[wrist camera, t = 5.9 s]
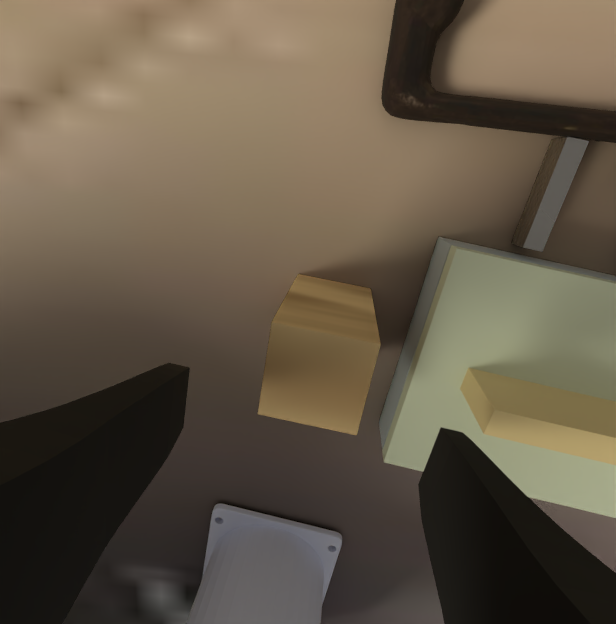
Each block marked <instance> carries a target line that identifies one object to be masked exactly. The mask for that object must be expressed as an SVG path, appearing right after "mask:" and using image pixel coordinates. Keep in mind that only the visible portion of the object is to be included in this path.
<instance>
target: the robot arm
mask: <svg viewBox="0 0 616 624" xmlns="http://www.w3.org/2000/svg"><path fill="white" fill-rule="evenodd" d="M189 370H190V368H188V367H184V366H180V365H176V364H171V363H167V364H164V365H162V366H159V367H157V368H154V369H152V370H150V371H147V372H145V373H143V374H140V375H138V376H136V377H133V378H131V379H129V380H126V381H124V382H121V383H119V384H117V385H114V386H112V387H110V388H107V389H105V390H102V391H99V392H97V393H94V394H91V395H88V396H86V397H83V398H80V399H78V400H75V401H72V402H70V403H67V404H64V405H61V406H58V407H55V408H52V409H49V410H46V411H42V412H39V413H35V414H32V415H28V416H25V417H21V418H18V419H14V420H10V421H6V422H2V423H0V624H62V623H63V621H64V619H65V617H66V616H67V614H68V612H69V610H70V608H71V607H72V605H73V603H74V601H75V599H76V598H77V596H78V594H79V592H80V590H81V589H82V587H83V585H84V583H85V582H86V580H87V578H88V576H89V575H90V573H91V571H92V570H93V568H94V566H95V564H96V563H97V561H98V559H99V557H100V556H101V554H102V552H103V550H104V549H105V547H106V546H107V544H108V542H109V541H110V539H111V538H112V536H113V535H114V533H115V532H116V530H117V529H118V527H119V526H120V524H121V523H122V522H123V520H124V519H125V517H126V516H127V515H128V513H129V512H130V510H131V509H132V507H133V506H134V505H135V503H136V502H137V500H138V499H139V498H140V496H141V495H142V493H143V492H144V490H145V489H146V488H147V486H148V485H149V483H150V482H151V481H152V479H153V478H154V476H155V475H156V473H157V472H158V470H159V469H160V468H161V466H162V465H163V463H164V462H165V460H166V459H167V457H168V455H169V453H170V452H171V450H172V448H173V446H174V444H175V442H176V440H177V438H178V436H179V434H180V433H181V431H182V429H183V424H184V415H185V406H186V397H187V388H188V379H189ZM419 496H420V507H421V517H422V523H423V528H424V533H425V537H426V542H427V546H428V551H429V555H430V560H431V564H432V568H433V573H434V577H435V582H436V586H437V590H438V595H439V599H440V603H441V608H442V612H443V618H444V623H445V624H616V573H615V572H614V571H612V570H611V569H610V568H608V567H607V566H606V565H605V564H603V563H602V562H601V561H600V560H599V559H597V558H596V557H595V556H594V555H593V554H591V553H590V552H589V551H588V550H586V549H585V548H584V547H583V546H582V545H580V544H579V543H578V542H577V541H576V540H574V539H573V538H572V537H571V536H570V535H569V534H567V533H566V532H565V531H564V530H563V529H562V528H561V527H559V526H558V525H557V524H556V523H555V522H554V521H553V520H552V519H551V518H550V517H549V516H548V515H546V514H545V513H544V512H543V511H542V510H541V509H540V508H539V507H538V506H537V505H536V504H535V503H534V502H533V501H531V500H530V499H529V498H528V497H527V496H526V495H525V494H524V493H523V492H522V491H521V490H520V489H519V488H518V487H517V486H516V485H515V484H514V483H513V482H512V481H511V480H510V479H509V478H508V477H507V476H506V475H505V474H504V473H503V472H502V471H501V470H500V469H499V468H498V467H497V466H496V465H495V464H494V462H493V461H492V460H491V459H490V458H489V457H488V456H487V455H486V454H485V453H484V452H483V451H482V450H481V449H480V448H479V447H478V446H477V445H476V444H475V443H474V442H473V441H472V440H471V439H470V438H469V437H467V436H466V435H465V434H464V433H463V432H459V431H455V430H451V429H446V428H442V427H441V428H440V430H439V433H438V436H437V438H436V441H435V443H434V446H433V448H432V451H431V454H430V456H429V459H428V461H427V464H426V466H425V469H424V472H423V474H422V477H421V479H420V482H419ZM219 517H220V518H219ZM330 545H332V546H330ZM341 546H342V536H341V534H340V533H338V532H336V531H332V530H327V529H323V528H319V527H315V526H311V525H307V524H303V523H299V522H295V521H291V520H287V519H283V518H279V517H275V516H271V515H267V514H263V513H259V512H255V511H251V510H247V509H243V508H238V507H234V506H230V505H226V504H221V503H219V504H216V505H215V506H214V509H213V511H212V516H211V522H210V529H209V535H208V542H207V548H206V555H205V561H204V568H203V575H202V581H201V584H200V587H199V589H198V592H197V595H196V598H195V600H194V603H193V606H192V608H191V611H190V614H189V616H188V619H187V622H186V624H321V614H322V604H323V601H324V598H325V595H326V592H327V589H328V586H329V583H330V579H331V576H332V573H333V570H334V567H335V564H336V561H337V558H338V555H339V552H340V549H341Z"/></svg>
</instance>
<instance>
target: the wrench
mask: <svg viewBox="0 0 616 624" xmlns="http://www.w3.org/2000/svg"><path fill="white" fill-rule="evenodd" d="M463 1H464V0H396V3H395V9H394V15H393V22H392V29H391V35H390V41H389V48H388V54H387V60H386V66H385V72H384V79H383V86H382V104H383V106H384V108H385V110H386V111H387V112H388V113H389V114H390V115H392V116H395V117H398V118H402V119H409V120H417V121H429V122H441V123H455V124H465V125H470V126H478V127H487V128H495V129H504V130H513V131H522V132H530V133H539V134H547V135H555V136H564V137H573V138H581V139H589V140H595V141H605V142H613V143H616V112H615V111H606V110H596V109H587V108H577V107H567V106H557V105H548V104H538V103H528V102H519V101H510V100H501V99H492V98H483V97H472V96H460V95H451V94H445V93H441V92H438V91H436V90H435V89H434V88H433V86H432V85H431V80H430V71H431V65H432V60H433V55H434V51H435V47H436V43H437V40H438V38H439V36H440V34H441V33H442V32H443V31H444V30H445V28H446V27H447V26H448V25H449V24H450V23H451V22H452V21H453V20H454V18H455V17H456V16H457V14H458V13H459V10H460V8H461V6H462V4H463Z"/></svg>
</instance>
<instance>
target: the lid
mask: <svg viewBox="0 0 616 624" xmlns="http://www.w3.org/2000/svg"><path fill="white" fill-rule="evenodd" d="M441 427H442V428H446V429H451V430H455V431H459V432H463V433H464V434H465V435H466V436H467V437H469V438H470V439H471V440H472V441H473V442H474V443H475V444H476V445H477V446H478V447H479V448H480V449H481V450H482V451H483V452H484V453H485V454H486V455H487V456H488V457H489V458H490V459H491V460H492V461H493V462H494V464H495V465H496V466H497V467H498V468H499V469H500V470H501V471H502V472H503V473H504V474H505V475H506V476H507V477H508V478H509V479H510V480H511V481H512V482H513V483H514V484H515V485H516V486H517V487H518V488H519V489H520V490H521V491H522V492H523V493H524V494H525V495H526V496H527V497H530V498H534V499H539V500H543V501H547V502H551V503H555V504H559V505H563V506H568V507H572V508H576V509H580V510H584V511H588V512H593V513H597V514H601V515H605V516H609V517H613V518H616V281H612V280H607V279H603V278H598V277H594V276H589V275H585V274H580V273H575V272H571V271H566V270H562V269H557V268H553V267H548V266H544V265H539V264H535V263H530V262H526V261H521V260H517V259H512V258H508V257H503V256H499V255H494V254H490V253H485V252H481V251H476V250H471V249H467V248H462V247H458V246H453V245H451V247H450V250H449V253H448V256H447V259H446V262H445V265H444V268H443V271H442V274H441V277H440V280H439V283H438V286H437V289H436V292H435V295H434V298H433V301H432V304H431V307H430V310H429V313H428V316H427V319H426V322H425V325H424V328H423V331H422V334H421V337H420V340H419V343H418V346H417V349H416V352H415V354H414V357H413V360H412V363H411V366H410V369H409V372H408V375H407V378H406V381H405V384H404V387H403V390H402V393H401V396H400V399H399V402H398V405H397V408H396V411H395V414H394V417H393V420H392V423H391V426H390V429H389V432H388V435H387V438H386V441H385V444H384V447H383V450H382V453H383V461H384V462H385V463H389V464H393V465H397V466H401V467H405V468H410V469H414V470H418V471H422V472H424V469H425V466H426V464H427V461H428V459H429V456H430V454H431V451H432V448H433V446H434V443H435V441H436V438H437V436H438V433H439V430H440V428H441Z"/></svg>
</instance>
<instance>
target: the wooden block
mask: <svg viewBox="0 0 616 624" xmlns="http://www.w3.org/2000/svg"><path fill="white" fill-rule="evenodd" d="M380 345H381V343H380V338H379V332H378V327H377V321H376V316H375V310H374V305H373V299H372V293H371V288H366V287H361V286H356V285H351V284H346V283H341V282H336V281H331V280H326V279H321V278H316V277H311V276H306V275H301V274H298V275H297V277H296V279H295V281H294V282H293V284H292V286H291V288H290V290H289V291H288V293H287V295H286V297H285V299H284V300H283V302H282V304H281V306H280V308H279V310H278V311H277V313H276V315H275V317H274V319H273V320H272V322H271V329H270V335H269V342H268V349H267V355H266V362H265V368H264V375H263V381H262V388H261V394H260V401H259V408H258V414H259V415H264V416H268V417H273V418H278V419H282V420H287V421H292V422H296V423H301V424H306V425H310V426H315V427H320V428H324V429H329V430H334V431H338V432H343V433H348V434H352V435H357V432H358V428H359V424H360V421H361V417H362V413H363V409H364V405H365V402H366V398H367V394H368V390H369V387H370V383H371V379H372V375H373V371H374V368H375V364H376V360H377V356H378V353H379V349H380Z"/></svg>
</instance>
